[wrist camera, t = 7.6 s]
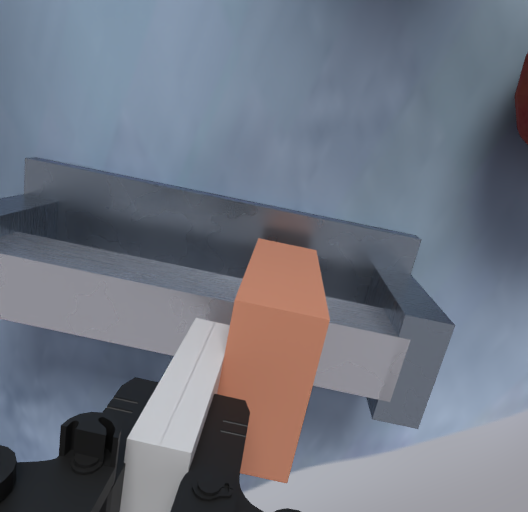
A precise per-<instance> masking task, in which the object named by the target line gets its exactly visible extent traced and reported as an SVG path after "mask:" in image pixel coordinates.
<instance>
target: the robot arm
mask: <svg viewBox="0 0 528 512" xmlns="http://www.w3.org/2000/svg"><path fill="white" fill-rule="evenodd" d="M229 327H230V325H227V324H222V323H217V322H213V321H208V320H203V319H199V318H196V319H195V321H194V322H193V324H192V326H191V328H190V329H189V331H188V333H187V335H186V336H185V338H184V340H183V342H182V343H181V345H180V347H179V348H178V350H177V352H176V354H175V355H174V357H173V359H172V361H171V362H170V364H169V366H168V368H167V369H166V371H165V373H164V375H163V376H162V378H161V380H160V382H159V383H158V382H154V381H149V380H145V379H140V378H134V379H132V380H130V381H129V382H127V383H125V384H124V385H122V386H121V388H120V389H119V390H118V392H117V393H116V395H115V396H114V398H113V399H112V400H111V401H110V403H109V404H108V406H107V408H105V410H104V411H103V413H98V412H89V413H83V414H79V415H77V416H74V417H72V418H70V419H68V420H67V421H66V422H65V423H63V424H62V425H61V433H60V448H59V456H58V457H57V458H56V459H52V460H47V461H39V462H18V463H17V461H16V456H15V453H14V452H13V451H12V450H10V449H9V448H8V447H5V446H1V445H0V512H263V511H261V510H259V509H258V508H257V507H255V506H254V505H252V504H251V503H250V502H249V501H248V500H247V499H246V498H245V496H244V494H243V492H242V491H241V488H240V484H239V475H240V469H241V464H242V458H243V452H244V446H245V440H246V434H247V428H248V422H249V416H250V411H249V408H248V406H247V403H246V401H245V400H241V399H237V398H232V397H227V396H223V395H218V394H217V392H218V386H219V381H220V376H221V370H222V365H223V360H224V354H225V349H226V344H227V338H228V333H229ZM275 512H300V511H299V510H293V509H281V510H277V511H275Z"/></svg>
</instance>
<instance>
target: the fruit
mask: <svg viewBox="0 0 528 512" xmlns="http://www.w3.org/2000/svg"><path fill="white" fill-rule="evenodd" d="M515 108H516V122H517V129H518V132H519V135H520V136H521V138H522V139H523V140H524V141H525V142H526V143H527V145H528V53H527V55H526V57H525V61H524V64H523V68H522V71H521V75H520V79H519V82H518V86H517V89H516V93H515Z"/></svg>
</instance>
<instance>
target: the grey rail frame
mask: <svg viewBox="0 0 528 512" xmlns="http://www.w3.org/2000/svg"><path fill="white" fill-rule="evenodd" d="M258 238H260V239H265V240H270V241H275V242H279V243H284V244H289V245H294V246H299V247H304V248H308V249H313V250H317V256H318V261H319V266H320V271H321V276H322V281H323V286H324V292H325V297H326V302H327V307H328V312H329V317H330V322H329V326H328V330H327V333H326V337H325V341H324V345H323V349H322V352H321V356H320V360H319V364H318V368H317V371H316V375H315V379H314V383H313V386H317V387H322V388H326V389H331V390H336V391H340V392H345V393H350V394H354V395H359V396H364V397H366V398H367V402H368V405H369V409H370V413H371V416H372V419H374V420H379V421H383V422H388V423H393V424H397V425H402V426H407V427H411V428H416V429H418V427H419V425H420V422H421V419H422V416H423V413H424V411H425V408H426V405H427V402H428V400H429V397H430V394H431V391H432V388H433V386H434V383H435V380H436V377H437V375H438V372H439V369H440V366H441V363H442V361H443V358H444V355H445V352H446V350H447V347H448V344H449V341H450V338H451V336H452V333H453V330H454V327H455V325H454V323H453V322H452V321H451V320H450V319H449V318H448V317H447V315H446V314H445V313H444V312H443V311H442V310H441V309H440V307H439V306H438V305H437V304H436V303H435V302H434V301H433V299H432V298H431V297H430V296H429V295H428V294H427V292H426V291H425V290H424V289H423V288H422V287H421V286H420V284H419V283H418V282H417V281H416V280H415V279H414V278H413V276H412V275H411V271H412V268H413V265H414V262H415V259H416V255H417V252H418V249H419V246H420V243H421V239H420V238H419V237H417V236H416V235H411V234H406V233H401V232H396V231H391V230H387V229H382V228H377V227H372V226H367V225H362V224H357V223H353V222H348V221H343V220H338V219H333V218H328V217H323V216H318V215H314V214H309V213H304V212H299V211H294V210H289V209H284V208H280V207H275V206H270V205H265V204H260V203H255V202H250V201H245V200H241V199H236V198H231V197H226V196H221V195H216V194H211V193H207V192H202V191H197V190H192V189H187V188H182V187H177V186H172V185H168V184H163V183H158V182H153V181H148V180H143V179H138V178H134V177H129V176H124V175H119V174H114V173H109V172H104V171H99V170H95V169H90V168H85V167H80V166H75V165H70V164H65V163H61V162H56V161H51V160H46V159H41V158H25V180H24V194H22V195H17V196H12V197H7V198H1V199H0V319H3V320H8V321H12V322H17V323H22V324H27V325H31V326H36V327H41V328H45V329H50V330H55V331H59V332H64V333H69V334H73V335H78V336H83V337H87V338H92V339H97V340H101V341H106V342H111V343H115V344H120V345H125V346H130V347H134V348H139V349H144V350H148V351H153V352H158V353H162V354H167V355H172V356H174V355H175V354H176V352H177V350H178V348H179V347H180V345H181V343H182V342H183V340H184V338H185V336H186V335H187V333H188V331H189V329H190V328H191V326H192V324H193V322H194V321H195V319H196V318H199V319H203V320H208V321H213V322H217V323H222V324H227V325H230V322H231V317H232V311H233V306H234V301H235V298H236V295H237V292H238V290H239V287H240V285H241V282H242V280H243V277H244V274H245V272H246V269H247V267H248V264H249V261H250V259H251V256H252V254H253V251H254V248H255V246H256V243H257V241H258Z"/></svg>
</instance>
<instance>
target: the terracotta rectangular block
mask: <svg viewBox="0 0 528 512" xmlns="http://www.w3.org/2000/svg"><path fill="white" fill-rule="evenodd" d="M329 322H330V317H329V312H328V307H327V302H326V297H325V292H324V286H323V281H322V276H321V271H320V266H319V261H318V256H317V250H313V249H308V248H304V247H299V246H294V245H289V244H284V243H279V242H275V241H270V240H265V239H260V238H258V241H257V243H256V246H255V248H254V251H253V254H252V256H251V259H250V261H249V264H248V267H247V269H246V272H245V274H244V277H243V280H242V282H241V285H240V287H239V290H238V292H237V295H236V298H235V301H234V306H233V311H232V317H231V322H230V327H229V333H228V338H227V344H226V349H225V354H224V360H223V365H222V370H221V376H220V381H219V386H218V392H217V394H218V395H223V396H227V397H232V398H237V399H241V400H245V401H246V403H247V406H248V408H249V411H250V416H249V422H248V428H247V434H246V440H245V446H244V452H243V458H242V464H241V469H240V473H242V474H246V475H251V476H256V477H260V478H265V479H269V480H274V481H278V482H283V483H287V482H288V478H289V474H290V470H291V467H292V463H293V459H294V455H295V451H296V448H297V444H298V440H299V436H300V432H301V429H302V425H303V421H304V417H305V413H306V410H307V406H308V402H309V398H310V394H311V390H312V387H313V383H314V379H315V375H316V371H317V368H318V364H319V360H320V356H321V352H322V349H323V345H324V341H325V337H326V333H327V330H328V326H329Z"/></svg>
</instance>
